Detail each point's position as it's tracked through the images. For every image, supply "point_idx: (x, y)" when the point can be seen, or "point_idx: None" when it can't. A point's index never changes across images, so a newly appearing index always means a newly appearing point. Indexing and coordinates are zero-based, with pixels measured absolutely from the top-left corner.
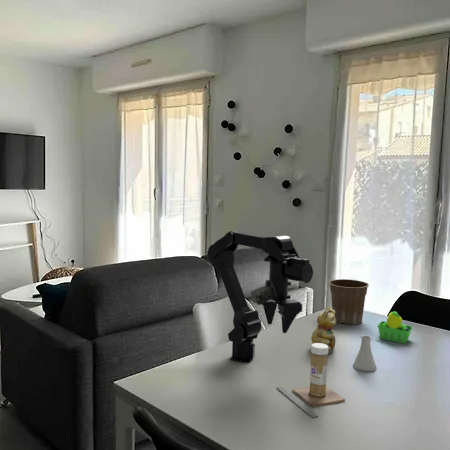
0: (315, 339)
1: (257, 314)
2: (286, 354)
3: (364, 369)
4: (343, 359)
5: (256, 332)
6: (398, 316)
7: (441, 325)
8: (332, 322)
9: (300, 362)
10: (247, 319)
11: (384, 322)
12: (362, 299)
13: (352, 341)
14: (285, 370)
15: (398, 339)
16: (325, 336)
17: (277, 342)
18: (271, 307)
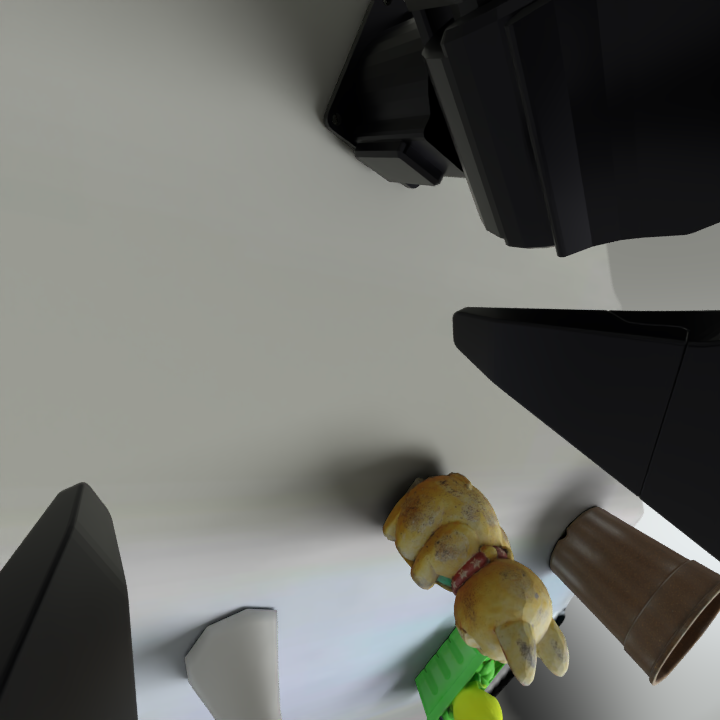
0: (439, 505)
1: (660, 224)
2: (401, 360)
3: (190, 659)
4: (320, 567)
5: (471, 186)
6: None
7: None
8: (467, 639)
9: (304, 415)
10: (617, 20)
11: None
12: (613, 634)
13: None
14: (193, 332)
15: (429, 673)
16: (422, 562)
17: None
18: (668, 441)
